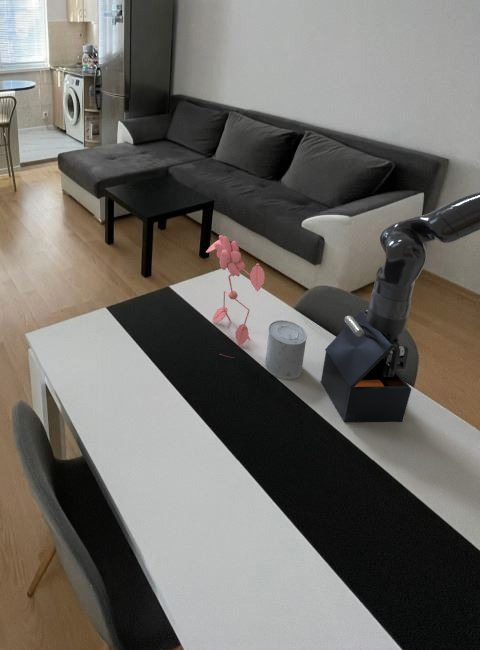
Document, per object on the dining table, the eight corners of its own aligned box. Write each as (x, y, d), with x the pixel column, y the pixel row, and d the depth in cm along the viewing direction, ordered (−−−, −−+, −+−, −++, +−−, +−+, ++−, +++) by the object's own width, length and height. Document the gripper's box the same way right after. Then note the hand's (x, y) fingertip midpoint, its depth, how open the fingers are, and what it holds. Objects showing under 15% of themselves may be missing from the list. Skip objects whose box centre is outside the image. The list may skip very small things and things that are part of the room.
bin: (372, 381, 115) (380, 350, 111) (402, 422, 103) (411, 388, 99) (320, 382, 116) (325, 351, 112) (344, 422, 104) (350, 389, 100)
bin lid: (363, 310, 106) (343, 301, 106) (394, 346, 95) (371, 336, 94) (327, 350, 112) (307, 341, 111) (352, 388, 100) (330, 379, 100)
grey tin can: (261, 370, 121) (264, 336, 116) (269, 349, 128) (272, 316, 123) (298, 384, 115) (303, 349, 111) (304, 361, 123) (309, 327, 118)
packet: (376, 391, 111) (379, 379, 109) (387, 406, 106) (390, 394, 105) (348, 391, 111) (351, 380, 110) (358, 406, 107) (361, 394, 106)
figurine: (217, 305, 148) (221, 215, 136) (270, 356, 125) (282, 253, 113) (178, 317, 144) (179, 225, 131) (227, 372, 121) (233, 267, 108)
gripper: (427, 328, 92) (412, 385, 98) (386, 289, 105) (375, 341, 111) (390, 329, 92) (377, 386, 98) (354, 290, 106) (345, 341, 111)
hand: (376, 362), depth 105 cm, fingers open, 8 cm apart
